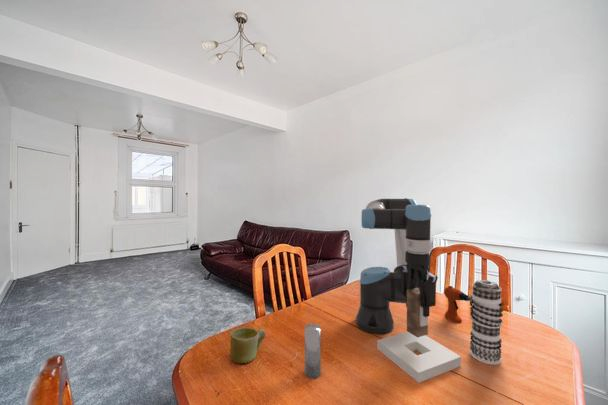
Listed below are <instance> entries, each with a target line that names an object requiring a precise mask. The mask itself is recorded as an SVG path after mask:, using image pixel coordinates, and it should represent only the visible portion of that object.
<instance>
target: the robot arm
mask: <svg viewBox="0 0 608 405" xmlns="http://www.w3.org/2000/svg"><path fill="white" fill-rule="evenodd" d="M431 213H432V212H431V206H429V205H428V204H417V201H416V200H414V199H413V198H407V197H405V198H378V199H376V200H373V201H370V202H369V203H367V205H366V206H365V208H364V209H362V210H361V227H362V228H364V229H370V230H377V229H379V230H394V240H395V243H394V244H395V252H396V253H395V255H396V267H394V269H393V272H391V270H390V269H389V268H388V267H383V266H372V267H367V268H364V269H363V270H362V271H360V278H359V284H360V286H359V289H360V290H359V291H360V294H359V302H360V303H359V308H358V311H357V314H356V316H355V324H356V326H357V327H358V328H359V329H360V330H361V331H364V332H367V333H370V334H375V335H381V334H382V335H383V334H389V333H391V332H392V331H393V330H394V327H395V325H394V324H395V323H394V319H393V315H392V312H391V308H390V303H398V304H405V307H406V308H407V289H412V288H419V290H420V296H421V302H422V305H420V326H421V327H422V326H426V325H428V326H429V317H430V308H432V307H435V306H436V305H437V304H436V300H437V299H436V294H437V292H436V291H437V281H438V279H439V278H438V275H436V274H432V273H431V270H430V268H429V267H430V265H431V254H430V252H431V223H432V222H431V218H432V214H431Z"/></svg>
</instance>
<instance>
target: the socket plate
mask: <svg viewBox="0 0 608 405" xmlns="http://www.w3.org/2000/svg"><path fill="white" fill-rule="evenodd" d="M376 343H377V346H376V348H377V350H378V351H379V352H381V353H382V354H383V355H384V356H386V357H387V359H389V360H390V361H392V362H393V363H394V364H395V365H396V366H397V367H399V368H400V369H401V370H402V371H403V372H405V373H406V374H407V375H408V376H410V377H411V378H412V379H413V380H414V381H416V383H422V382H424V381H427V380H430V379H432V378H435V377H437V376H440V375H442V374H444V373H447V372H449V371H452V370H454V369H457V368H459V367H461V366H462V357H461V356H460V355H459V354H457V353H456V352H454V351H452V350H451V349H449V348H447V347H446V346H444V345H442V344H441V343H439V342H438V341H436V340H434V339H432V337H429V336H427V335H424V336H421V337H418V338H417V337H416V336H414V335H413V334H411V333H409V332H408V331H406V332H400V333H398V334H395V335H391V336H388V337H384V338H380V339H377V341H376ZM414 351H417V352H419V353H420V354H416V353H415V352H414Z"/></svg>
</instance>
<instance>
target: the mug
mask: <svg viewBox="0 0 608 405" xmlns="http://www.w3.org/2000/svg"><path fill="white" fill-rule="evenodd" d="M265 338H266V331H265V330H264V328H259V329H257V330H256V329H254V328H252V327H238V328H235V329H234V330H233V331H231V333H230V341H229V342H230V348H229V350H230V351H229V353H230V354H229V357H230V360H231V361H232V362H233V363H236V364H240V363H246V364H248V363H251V362H253V361H254V360H255V359H256V357H257V353H258V351H259V349H260V347H261V344H262V343H263V341H264V339H265ZM253 359H254V360H253ZM252 360H253V361H252ZM250 361H251V362H250ZM247 362H248V363H247Z"/></svg>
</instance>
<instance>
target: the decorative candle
mask: <svg viewBox="0 0 608 405" xmlns="http://www.w3.org/2000/svg"><path fill="white" fill-rule="evenodd" d="M471 286H472V292H471V295H470V296H469V298H470V302H469V306H471V307H470V308H469V309H470V320H471V321H472V322H471V331H470V342H469V344H470V346H469V349H470V350H469V351H470V355H471V356H472V357H473V358H474V359H475V360H477V361H479V362H482V363H483V364H488V365H490V366H491V365H493V366H495V365H497V366H498V365H500V364H501V363H502V359H501V358H502V349H501V348H502V344H501V343H502V339H501V336H502V335H501V328H502V326H503V325H502V323H503V320H502V319H501V318H502V317H503V316H504V314H503V312H504V309H503V308H502V307H503V306H504V305H505V304H504V302H503V301H502V297H501V296H502V295H501V294H502V293H501V292H502V290H503V288H502V287H501V286H499V284H497V282H494V281H492V280H487V279H486V280H485V279H477V280H476V281H475V282H474V283H471ZM472 299H473V300H472Z"/></svg>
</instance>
